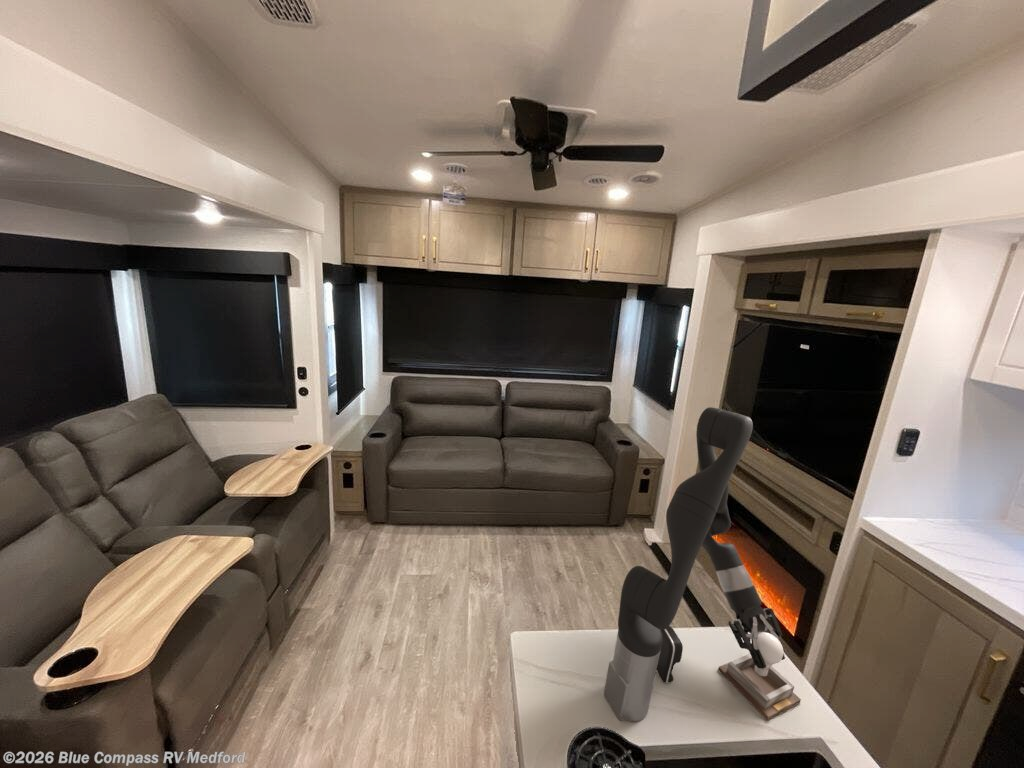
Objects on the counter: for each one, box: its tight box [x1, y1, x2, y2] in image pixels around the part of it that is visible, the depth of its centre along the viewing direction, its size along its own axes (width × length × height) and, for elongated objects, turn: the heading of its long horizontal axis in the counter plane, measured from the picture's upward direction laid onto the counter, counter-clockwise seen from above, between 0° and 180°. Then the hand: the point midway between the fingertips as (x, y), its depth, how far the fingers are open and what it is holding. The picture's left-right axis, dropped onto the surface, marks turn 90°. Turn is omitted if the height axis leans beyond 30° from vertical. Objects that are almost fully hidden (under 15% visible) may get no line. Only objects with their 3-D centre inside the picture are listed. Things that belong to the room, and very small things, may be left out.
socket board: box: [717, 653, 802, 721], centre depth 97 cm, size 12×13×4 cm
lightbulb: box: [755, 632, 785, 677], centre depth 95 cm, size 6×6×11 cm
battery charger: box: [656, 625, 684, 684], centre depth 98 cm, size 7×4×11 cm, turn 7°
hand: (771, 663), depth 94 cm, fingers closed on lightbulb, 6 cm apart
